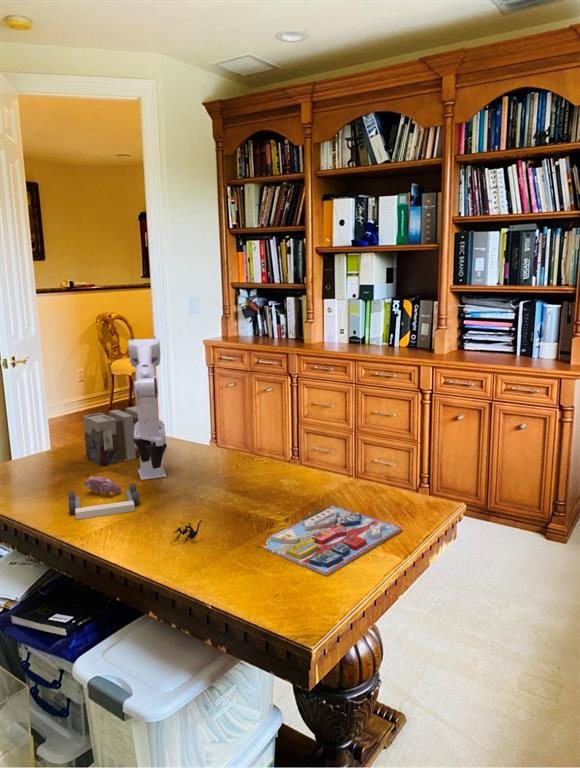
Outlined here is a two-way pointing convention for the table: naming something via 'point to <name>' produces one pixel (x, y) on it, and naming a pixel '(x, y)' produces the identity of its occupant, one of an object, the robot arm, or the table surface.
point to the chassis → (106, 508)
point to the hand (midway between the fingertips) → (151, 464)
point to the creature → (191, 534)
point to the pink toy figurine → (102, 485)
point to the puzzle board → (330, 539)
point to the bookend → (110, 436)
